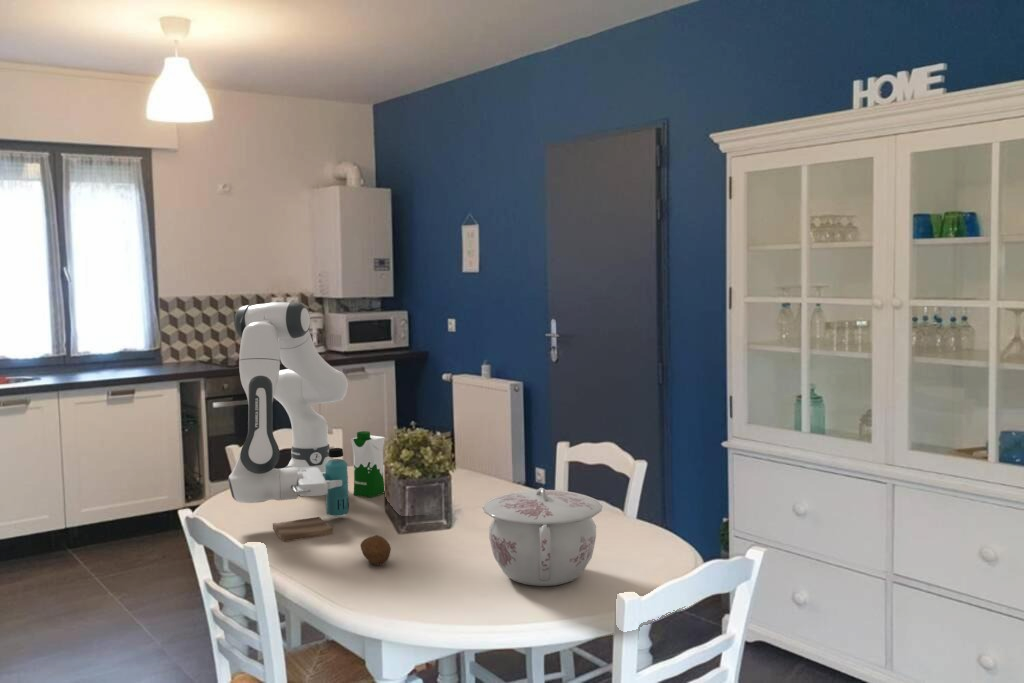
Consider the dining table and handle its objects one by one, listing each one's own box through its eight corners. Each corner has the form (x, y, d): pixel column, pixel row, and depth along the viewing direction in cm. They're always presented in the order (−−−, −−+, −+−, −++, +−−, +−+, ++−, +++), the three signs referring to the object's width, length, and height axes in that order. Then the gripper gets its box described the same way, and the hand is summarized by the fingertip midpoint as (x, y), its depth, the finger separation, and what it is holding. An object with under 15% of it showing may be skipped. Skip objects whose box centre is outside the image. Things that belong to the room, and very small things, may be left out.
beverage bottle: (336, 522, 252) (335, 452, 250) (321, 518, 256) (319, 449, 254) (354, 516, 258) (352, 448, 256) (338, 513, 262) (336, 445, 260)
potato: (378, 554, 225) (378, 527, 224) (401, 566, 216) (400, 538, 215) (353, 559, 221) (353, 532, 220) (375, 572, 212) (374, 543, 211)
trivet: (272, 528, 248) (272, 523, 248) (319, 522, 254) (319, 516, 254) (284, 541, 236) (284, 535, 236) (332, 534, 242) (332, 528, 242)
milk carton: (349, 495, 282) (347, 432, 281) (368, 489, 290) (367, 427, 288) (370, 499, 278) (369, 435, 276) (389, 492, 285) (388, 430, 284)
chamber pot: (532, 549, 227) (531, 468, 225) (626, 572, 210) (625, 484, 208) (457, 581, 205) (455, 491, 204) (553, 609, 188) (553, 511, 186)
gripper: (293, 481, 242) (345, 476, 246) (286, 464, 261) (334, 460, 265) (293, 504, 242) (345, 499, 247) (287, 486, 261) (335, 481, 266)
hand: (339, 479), depth 256 cm, fingers closed on beverage bottle, 6 cm apart
